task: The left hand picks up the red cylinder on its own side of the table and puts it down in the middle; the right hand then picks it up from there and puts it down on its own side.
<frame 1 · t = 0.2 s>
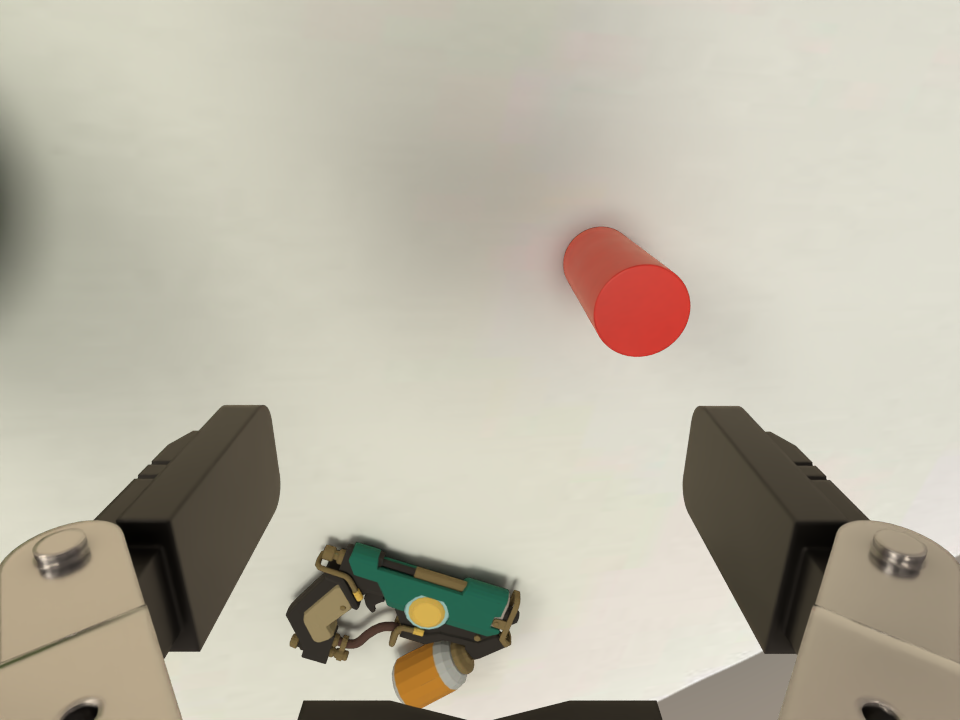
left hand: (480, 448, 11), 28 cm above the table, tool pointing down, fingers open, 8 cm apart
spray gun: (403, 601, 49), on the table
red cylinder: (598, 262, 38), on the table
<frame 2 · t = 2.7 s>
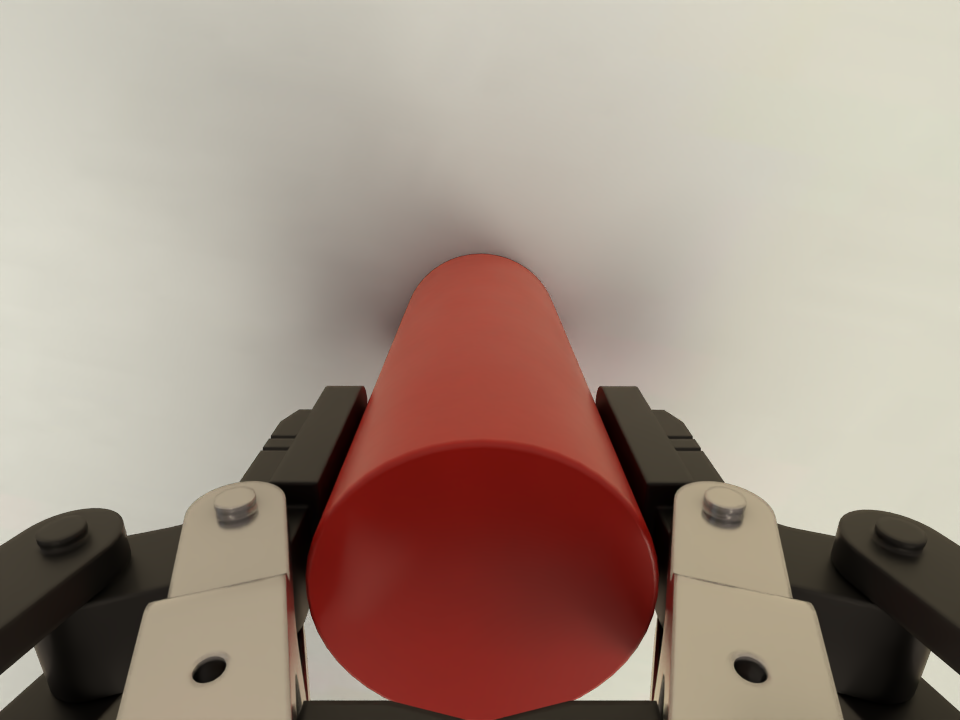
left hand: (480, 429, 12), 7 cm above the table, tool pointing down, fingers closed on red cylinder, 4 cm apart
red cylinder: (480, 328, 18), on the table, touching left hand
when the left hand's fingers open (8 cm above the table, at t = 12.4 s): red cylinder drops 2 cm, on the table.
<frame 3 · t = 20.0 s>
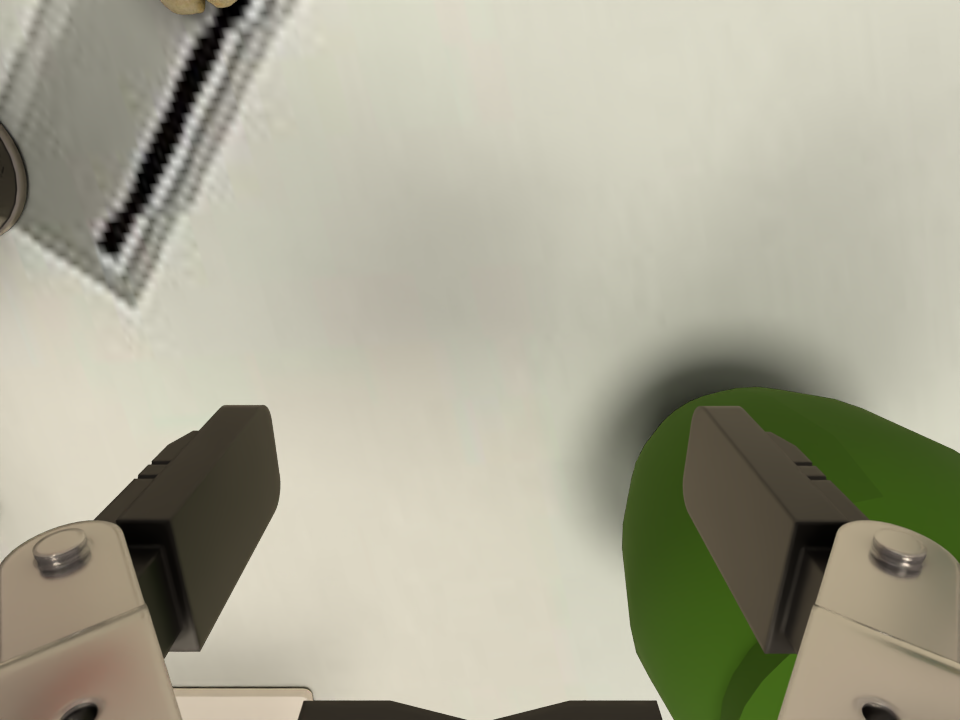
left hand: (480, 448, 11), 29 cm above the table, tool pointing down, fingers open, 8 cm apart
vase: (709, 445, 45), on the table
when the right hand's fingers open (8 cm above the table, at t = 25.5 s): red cylinder drops 1 cm, on the table.
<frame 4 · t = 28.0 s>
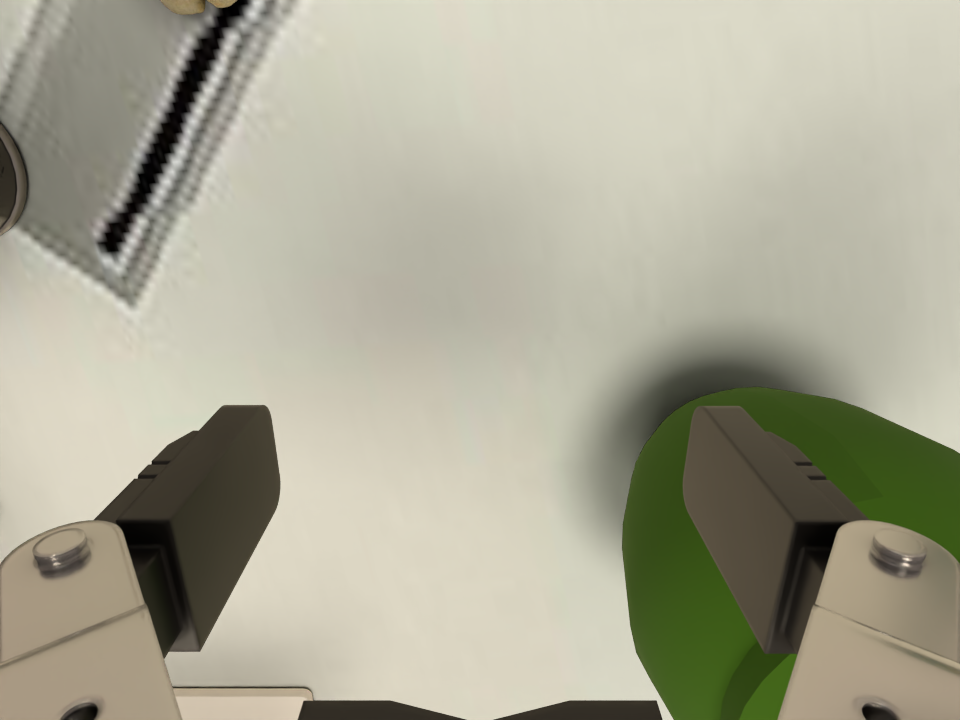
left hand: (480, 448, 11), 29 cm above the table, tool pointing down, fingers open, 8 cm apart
vase: (709, 445, 45), on the table
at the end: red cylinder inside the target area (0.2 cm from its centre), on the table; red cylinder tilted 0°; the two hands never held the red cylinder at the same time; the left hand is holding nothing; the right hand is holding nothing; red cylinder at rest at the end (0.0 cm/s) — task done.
